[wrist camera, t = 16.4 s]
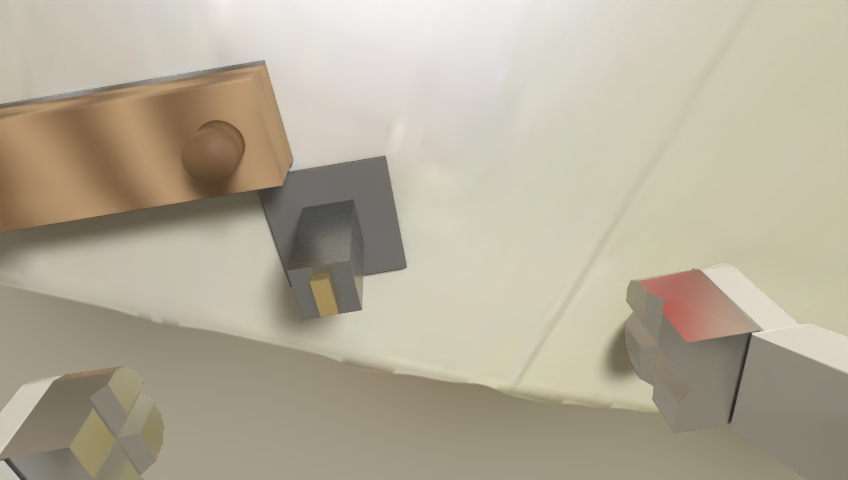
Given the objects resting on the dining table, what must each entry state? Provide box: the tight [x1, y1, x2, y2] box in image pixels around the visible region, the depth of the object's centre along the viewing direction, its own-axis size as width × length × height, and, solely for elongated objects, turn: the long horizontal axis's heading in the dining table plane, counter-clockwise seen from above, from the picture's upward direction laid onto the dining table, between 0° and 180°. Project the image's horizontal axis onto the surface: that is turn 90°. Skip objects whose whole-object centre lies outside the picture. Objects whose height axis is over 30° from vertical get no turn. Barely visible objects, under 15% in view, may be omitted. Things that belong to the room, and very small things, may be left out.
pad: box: [258, 156, 407, 287], centre depth 42 cm, size 10×10×1 cm
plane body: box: [0, 60, 293, 232], centre depth 33 cm, size 22×7×9 cm, turn 98°
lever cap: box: [287, 199, 364, 320], centre depth 37 cm, size 4×4×10 cm
